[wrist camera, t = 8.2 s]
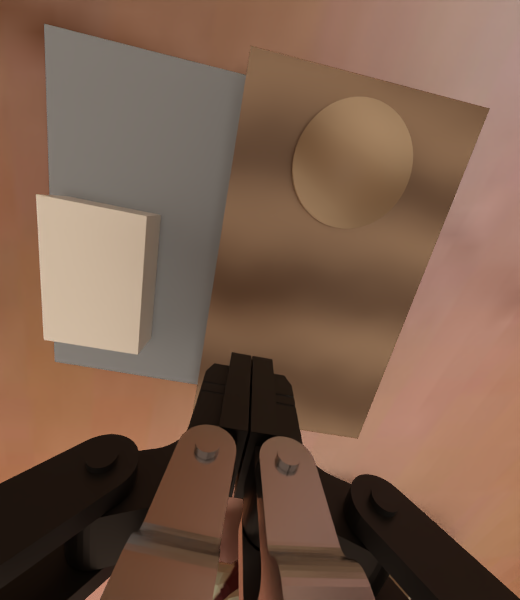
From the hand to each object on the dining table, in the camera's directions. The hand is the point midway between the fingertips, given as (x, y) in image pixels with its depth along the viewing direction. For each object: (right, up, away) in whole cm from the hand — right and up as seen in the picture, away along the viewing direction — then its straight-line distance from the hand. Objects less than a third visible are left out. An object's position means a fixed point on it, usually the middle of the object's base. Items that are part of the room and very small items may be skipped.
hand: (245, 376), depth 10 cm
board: (+4, +5, +10) cm, 11 cm away
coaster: (+5, +10, +4) cm, 12 cm away
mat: (-8, +7, +9) cm, 14 cm away
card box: (-10, +4, +7) cm, 12 cm away
